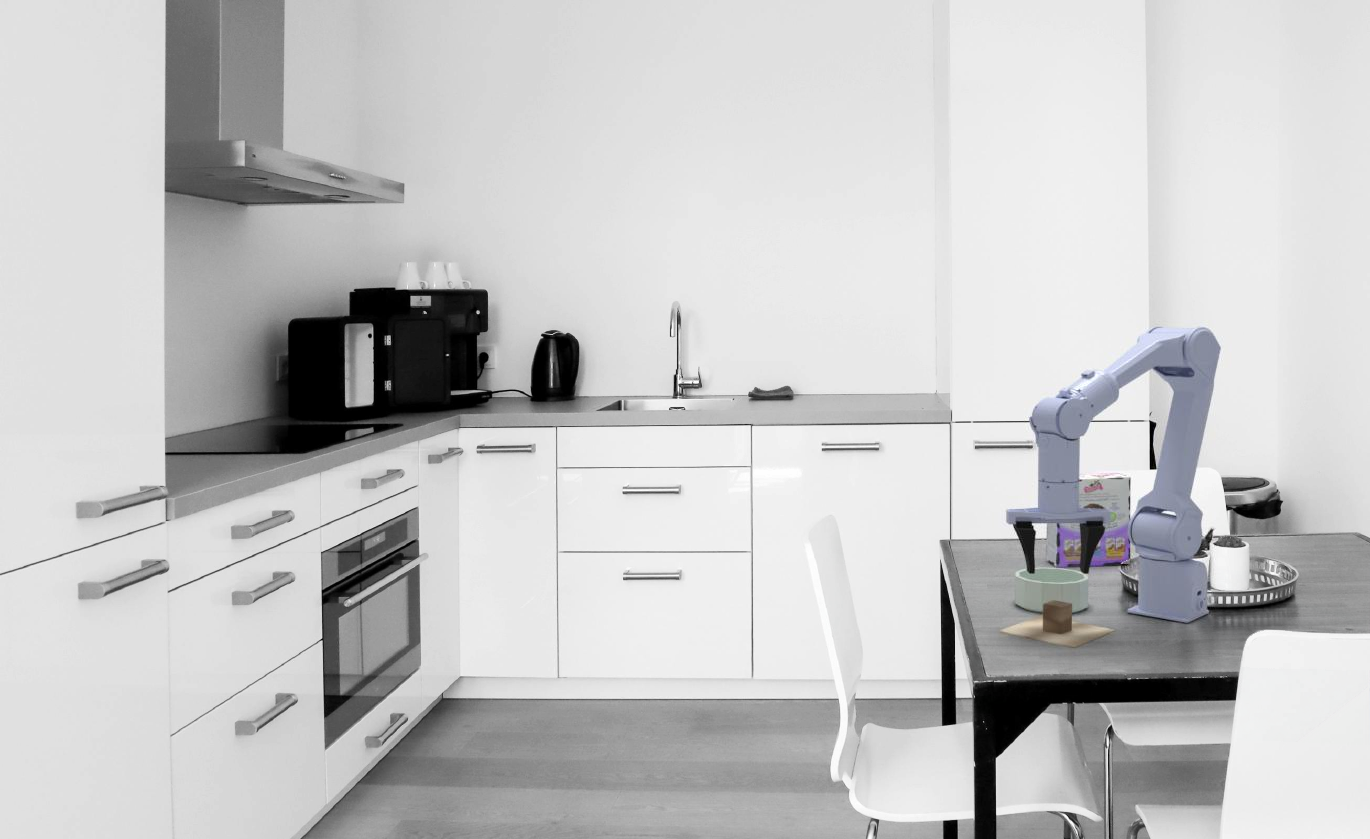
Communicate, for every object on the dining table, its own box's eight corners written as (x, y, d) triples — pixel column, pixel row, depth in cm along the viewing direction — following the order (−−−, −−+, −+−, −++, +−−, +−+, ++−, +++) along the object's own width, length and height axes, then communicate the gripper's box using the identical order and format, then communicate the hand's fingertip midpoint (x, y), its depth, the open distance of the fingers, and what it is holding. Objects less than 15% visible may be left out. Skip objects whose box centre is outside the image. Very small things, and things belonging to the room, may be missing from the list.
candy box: (1118, 558, 220) (1119, 471, 218) (1131, 565, 214) (1132, 476, 212) (1045, 560, 219) (1045, 473, 218) (1056, 567, 213) (1057, 478, 212)
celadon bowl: (1100, 605, 187) (1100, 574, 187) (1066, 618, 179) (1066, 586, 179) (1037, 594, 195) (1037, 564, 194) (1002, 606, 187) (1002, 576, 187)
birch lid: (1115, 635, 172) (1116, 603, 172) (1074, 652, 164) (1075, 618, 164) (1041, 620, 181) (1041, 589, 180) (999, 635, 173) (999, 603, 172)
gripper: (1102, 476, 174) (1101, 566, 175) (1002, 476, 175) (1002, 566, 176) (1115, 483, 167) (1114, 576, 168) (1011, 483, 168) (1010, 576, 169)
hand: (1057, 572), depth 171 cm, fingers open, 7 cm apart
